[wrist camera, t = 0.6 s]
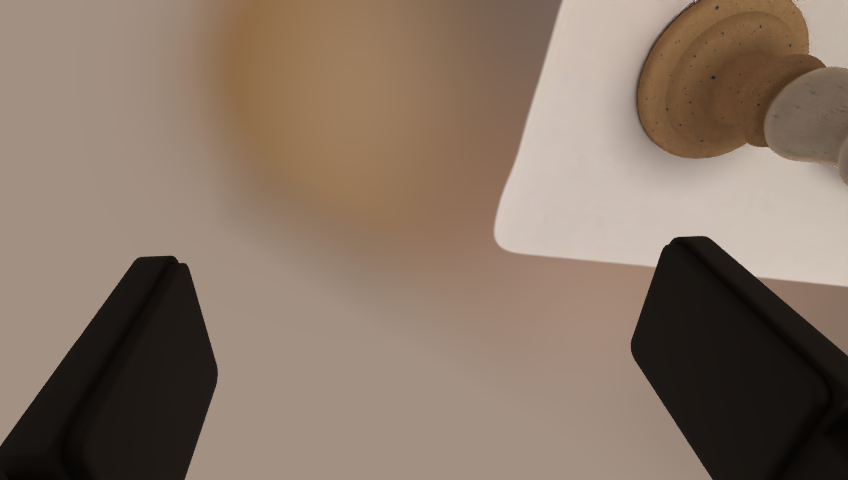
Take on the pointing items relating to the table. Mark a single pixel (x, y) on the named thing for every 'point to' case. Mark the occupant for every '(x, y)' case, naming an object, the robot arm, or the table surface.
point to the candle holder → (744, 86)
